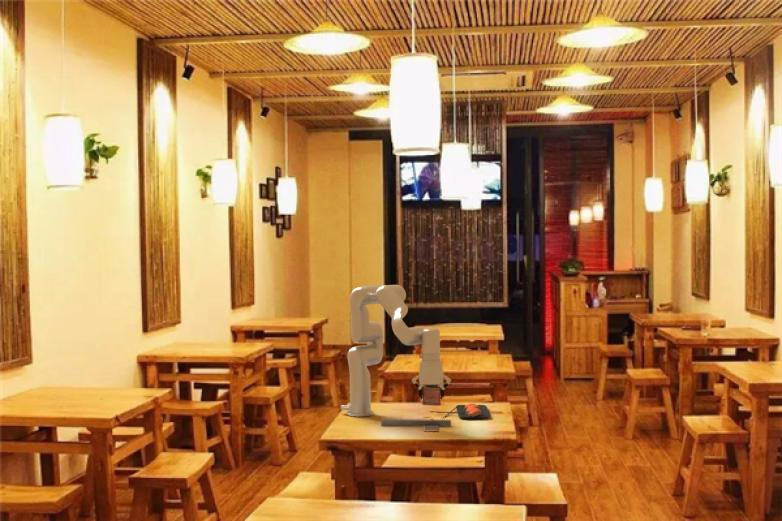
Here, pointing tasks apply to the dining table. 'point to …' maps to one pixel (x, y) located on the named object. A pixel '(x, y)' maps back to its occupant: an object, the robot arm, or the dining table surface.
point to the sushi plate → (470, 411)
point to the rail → (414, 422)
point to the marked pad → (431, 428)
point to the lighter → (431, 395)
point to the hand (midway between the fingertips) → (431, 398)
